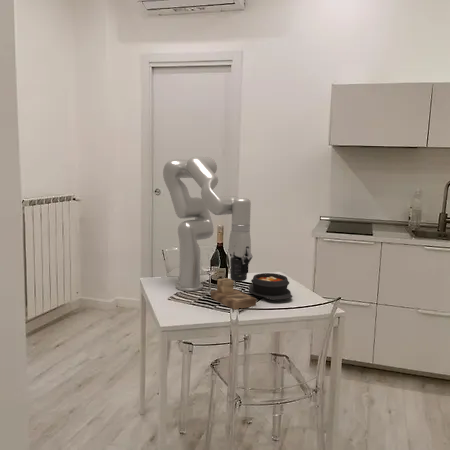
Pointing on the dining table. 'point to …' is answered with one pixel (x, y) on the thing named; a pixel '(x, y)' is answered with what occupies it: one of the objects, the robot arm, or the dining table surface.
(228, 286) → the oak cube
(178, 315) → the dining table surface
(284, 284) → the casserole
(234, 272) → the supplement bottle
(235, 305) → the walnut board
